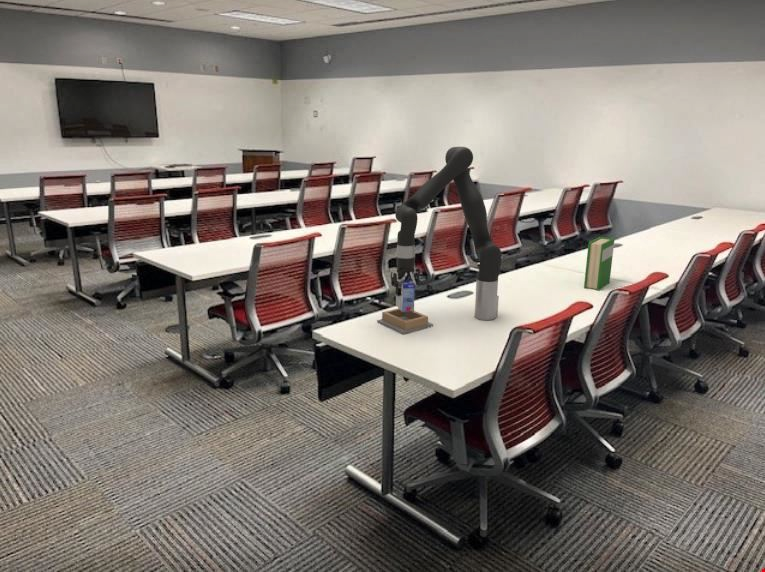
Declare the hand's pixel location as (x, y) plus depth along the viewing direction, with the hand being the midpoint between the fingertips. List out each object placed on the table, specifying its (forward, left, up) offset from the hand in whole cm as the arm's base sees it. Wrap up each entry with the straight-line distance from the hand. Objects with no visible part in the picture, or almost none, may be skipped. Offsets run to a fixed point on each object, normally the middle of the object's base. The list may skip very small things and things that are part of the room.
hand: (405, 294), depth 238 cm
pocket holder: (0, 0, -13) cm, 13 cm away
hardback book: (-116, +15, -14) cm, 118 cm away
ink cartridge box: (0, 0, -6) cm, 6 cm away
